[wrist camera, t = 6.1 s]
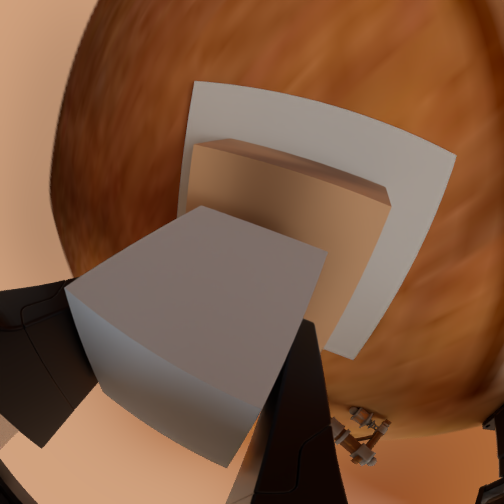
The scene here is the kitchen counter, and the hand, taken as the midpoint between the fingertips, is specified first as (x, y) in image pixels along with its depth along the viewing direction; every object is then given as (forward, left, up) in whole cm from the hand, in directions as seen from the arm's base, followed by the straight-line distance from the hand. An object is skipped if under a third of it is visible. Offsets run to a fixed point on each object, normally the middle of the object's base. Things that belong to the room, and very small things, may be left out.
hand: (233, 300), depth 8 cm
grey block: (0, 0, -1) cm, 1 cm away
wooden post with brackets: (-8, +11, -6) cm, 15 cm away
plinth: (0, 0, -6) cm, 6 cm away
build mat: (0, 0, -6) cm, 6 cm away
